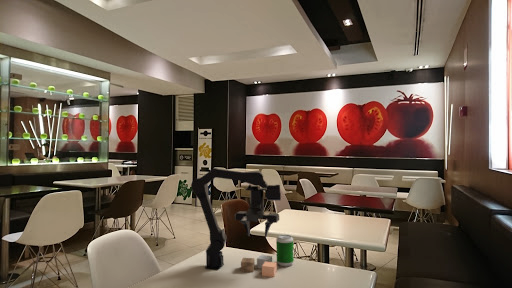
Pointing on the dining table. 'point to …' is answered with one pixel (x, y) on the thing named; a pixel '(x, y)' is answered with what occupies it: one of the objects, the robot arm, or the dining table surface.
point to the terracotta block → (269, 269)
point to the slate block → (263, 260)
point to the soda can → (285, 250)
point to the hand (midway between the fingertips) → (257, 236)
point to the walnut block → (247, 265)
